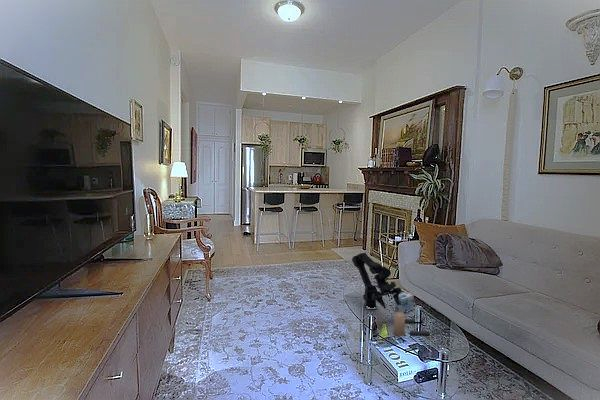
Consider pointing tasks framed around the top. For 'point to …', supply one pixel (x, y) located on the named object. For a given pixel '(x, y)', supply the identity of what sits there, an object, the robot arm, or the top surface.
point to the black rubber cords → (416, 331)
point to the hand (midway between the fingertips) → (392, 306)
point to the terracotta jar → (399, 323)
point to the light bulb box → (404, 302)
